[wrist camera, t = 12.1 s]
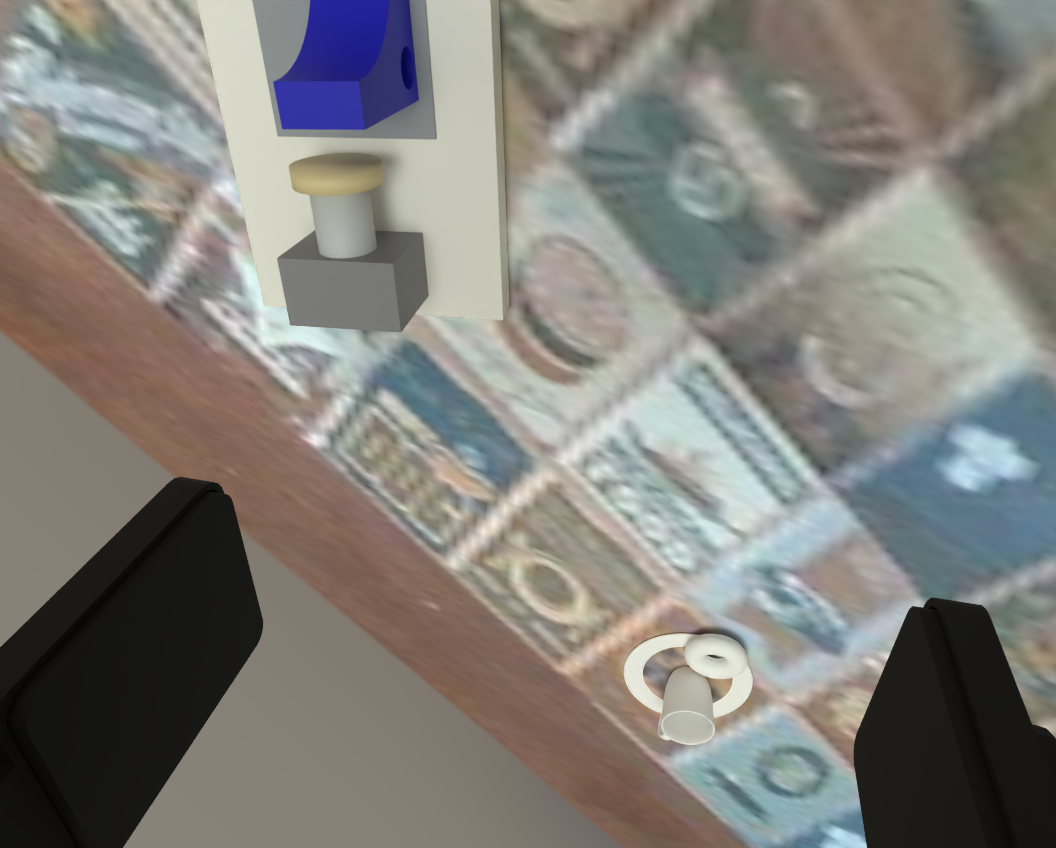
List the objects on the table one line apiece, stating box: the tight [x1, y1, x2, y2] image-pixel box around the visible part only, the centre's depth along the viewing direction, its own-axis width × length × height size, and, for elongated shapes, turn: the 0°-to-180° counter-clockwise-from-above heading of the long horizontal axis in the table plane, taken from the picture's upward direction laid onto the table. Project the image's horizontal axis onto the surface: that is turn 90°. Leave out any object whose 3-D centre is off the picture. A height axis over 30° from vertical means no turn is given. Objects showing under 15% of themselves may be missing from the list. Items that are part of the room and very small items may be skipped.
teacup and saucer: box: [624, 633, 753, 745], centre depth 46 cm, size 9×8×4 cm
